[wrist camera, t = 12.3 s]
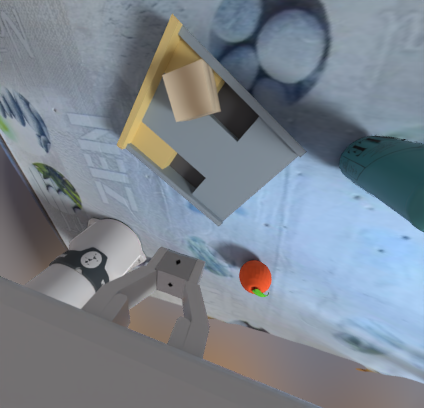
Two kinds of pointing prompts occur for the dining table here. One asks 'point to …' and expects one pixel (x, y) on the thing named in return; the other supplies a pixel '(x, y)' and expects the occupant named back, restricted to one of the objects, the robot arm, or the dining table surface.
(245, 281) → the clementine
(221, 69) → the tray
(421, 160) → the beverage bottle
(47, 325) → the robot arm
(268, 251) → the dining table surface
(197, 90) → the cube
